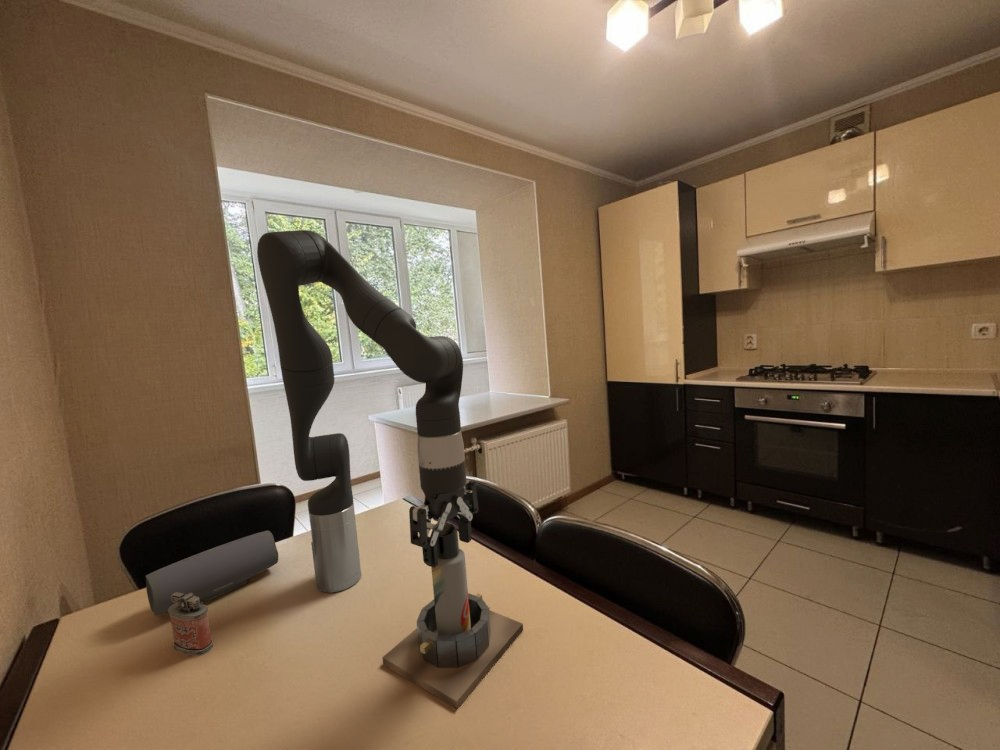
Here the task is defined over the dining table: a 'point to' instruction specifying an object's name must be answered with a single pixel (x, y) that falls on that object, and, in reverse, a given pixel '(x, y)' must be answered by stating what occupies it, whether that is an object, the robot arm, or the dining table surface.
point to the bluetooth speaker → (212, 571)
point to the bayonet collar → (456, 647)
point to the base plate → (452, 681)
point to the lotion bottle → (450, 585)
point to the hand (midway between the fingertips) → (449, 552)
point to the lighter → (190, 624)
